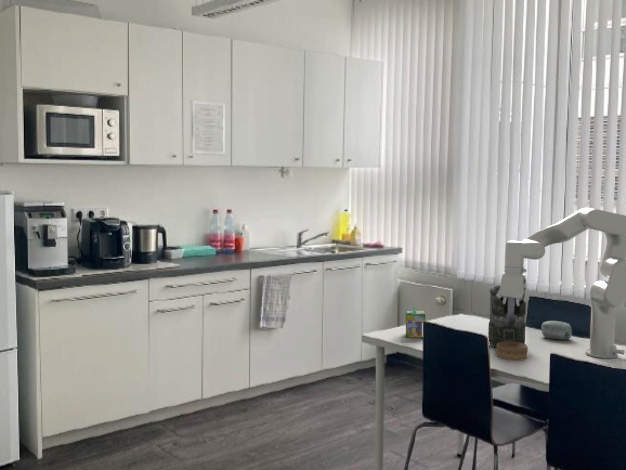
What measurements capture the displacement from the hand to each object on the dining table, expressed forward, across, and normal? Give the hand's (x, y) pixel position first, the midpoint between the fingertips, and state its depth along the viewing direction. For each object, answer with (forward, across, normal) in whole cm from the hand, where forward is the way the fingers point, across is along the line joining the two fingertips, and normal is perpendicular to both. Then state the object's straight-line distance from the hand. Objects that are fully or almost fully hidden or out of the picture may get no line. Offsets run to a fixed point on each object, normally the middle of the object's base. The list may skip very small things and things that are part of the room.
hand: (511, 313), depth 294 cm
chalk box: (+19, +49, -8) cm, 54 cm away
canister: (+18, +8, -17) cm, 26 cm away
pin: (+5, 0, 0) cm, 5 cm away
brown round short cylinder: (+18, -1, -1) cm, 18 cm away
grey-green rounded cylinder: (+18, -5, -44) cm, 47 cm away
